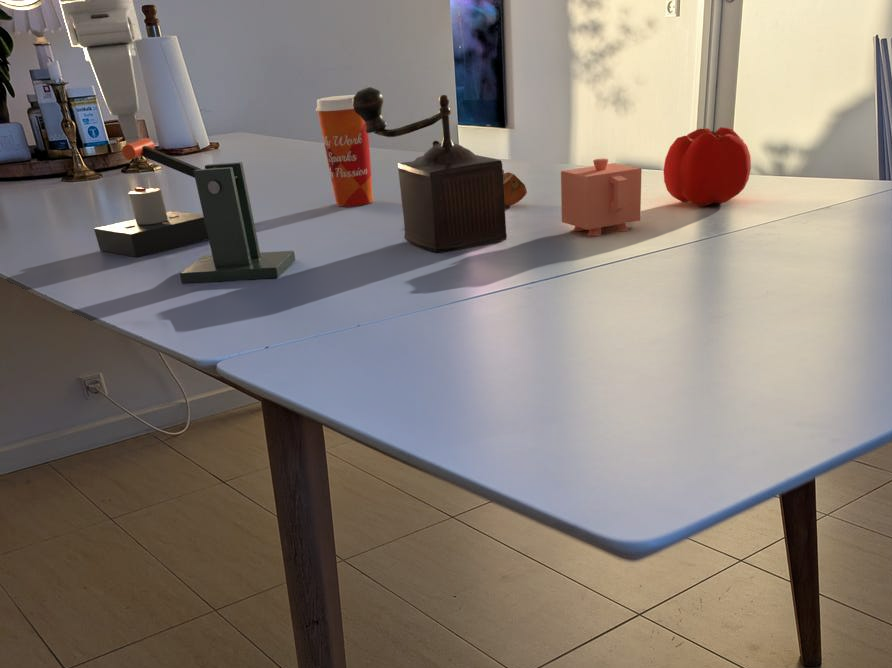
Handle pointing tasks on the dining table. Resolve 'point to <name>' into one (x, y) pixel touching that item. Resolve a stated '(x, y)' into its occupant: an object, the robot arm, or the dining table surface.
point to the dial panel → (152, 235)
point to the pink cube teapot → (601, 196)
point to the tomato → (707, 166)
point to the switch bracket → (231, 231)
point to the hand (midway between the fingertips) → (135, 148)
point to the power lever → (157, 156)
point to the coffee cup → (346, 150)
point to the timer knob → (148, 206)
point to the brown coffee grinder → (443, 185)
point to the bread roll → (512, 189)
